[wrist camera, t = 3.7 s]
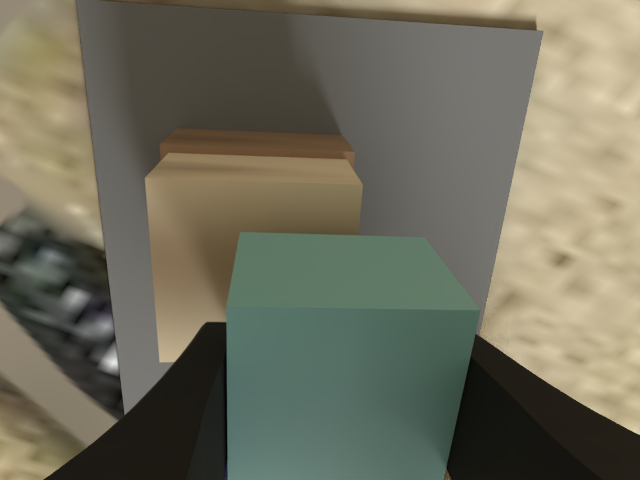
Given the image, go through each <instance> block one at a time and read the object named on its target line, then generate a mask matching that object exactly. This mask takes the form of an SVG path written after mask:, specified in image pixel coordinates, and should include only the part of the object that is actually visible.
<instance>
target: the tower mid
mask: <svg viewBox="0 0 640 480" xmlns="http://www.w3.org/2000/svg"><path fill="white" fill-rule="evenodd" d="M145 186H146V199H147V211H148V224H149V236H150V249H151V262H152V274H153V287H154V299H155V312H156V324H157V337H158V349H159V362H175V361H176V360H177V359H178V358H179V356H180V355H181V354H182V352H183V351H184V350H185V349H186V347H187V346H188V345H189V343H190V342H191V341H192V339H193V338H194V337H195V335H196V334H197V332H198V331H199V329H200V328H201V326H203V325H204V324H205V323H206V322H226V306H227V300H228V295H229V289H230V284H231V278H232V273H233V267H234V262H235V256H236V251H237V245H238V240H239V234H240V232H258V233H293V234H327V235H358V233H359V222H360V212H361V201H362V190H363V184H362V182H361V181H360V179H359V178H358V176H357V175H356V173H355V172H354V170H353V169H352V167H351V165H350V164H349V162H348V161H347V159H325V158H298V157H271V156H244V155H217V154H190V153H168V154H167V155H166V156H165V157H164V158H163V159H162V160H161V161H160V162H159V163H158V165H157V166H156V167H155V168H154V169H153V170H152V171H151V172H150V173H149V174H148V175H147V176H146V177H145Z"/></svg>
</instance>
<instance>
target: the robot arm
mask: <svg viewBox="0 0 640 480" xmlns="http://www.w3.org/2000/svg"><path fill="white" fill-rule="evenodd" d="M227 460H228V447H227V326H226V322H206V323H205V324H204V325H203V326H201V328H200V329H199V331H198V332H197V334H196V335H195V337H194V338H193V339H192V341H191V342H190V343H189V345H188V346H187V347H186V349H185V350H184V351H183V352H182V354H181V355H180V356H179V358H178V359H177V360H176V361H175V362H174V363H173V365H172V366H171V367H170V368H169V369H168V370H167V372H166V373H165V374H164V375H163V376H162V377H161V379H160V380H159V381H158V382H157V383H156V384H155V385H154V386H153V387H152V388H151V389H150V390H149V391H148V392H147V393H146V394H145V395H144V396H143V398H142V399H141V400H140V401H139V402H138V403H137V404H136V405H135V406H134V407H133V408H132V409H131V410H130V411H129V412H127V413H126V414H125V415H124V416H123V417H122V418H121V419H120V420H119V421H118V422H117V423H116V424H115V425H113V426H112V427H111V428H110V429H109V430H108V431H106V432H105V433H104V434H103V435H102V436H101V437H99V438H98V439H97V440H96V441H95V442H94V443H92V444H91V445H90V446H88V447H87V448H86V449H85V450H83V451H82V452H81V453H79V454H78V455H77V456H75V457H74V458H73V459H71V460H70V461H69V462H67V463H66V464H64V465H63V466H62V467H60V468H59V469H58V470H56V471H55V472H54V473H52V474H51V475H50V476H48V477H47V478H45V479H44V480H224V476H225V470H226V465H227ZM446 468H447V471H448V473H449V475H450V478H451V480H640V435H638V434H636V433H634V432H632V431H630V430H628V429H627V428H625V427H623V426H621V425H619V424H617V423H615V422H613V421H612V420H610V419H608V418H606V417H604V416H602V415H600V414H598V413H597V412H595V411H593V410H591V409H590V408H588V407H586V406H584V405H583V404H581V403H579V402H577V401H576V400H574V399H573V398H571V397H569V396H568V395H566V394H564V393H563V392H561V391H560V390H558V389H556V388H555V387H553V386H552V385H550V384H548V383H547V382H545V381H544V380H542V379H541V378H539V377H538V376H536V375H535V374H533V373H532V372H530V371H529V370H527V369H526V368H524V367H523V366H521V365H520V364H519V363H517V362H516V361H514V360H513V359H511V358H510V357H508V356H507V355H506V354H504V353H503V352H501V351H500V350H498V349H497V348H496V347H494V346H493V345H491V344H490V343H489V342H487V341H486V340H484V339H483V338H481V337H480V336H478V335H477V334H475V338H474V343H473V348H472V352H471V357H470V361H469V366H468V370H467V375H466V380H465V384H464V389H463V393H462V398H461V403H460V407H459V412H458V416H457V421H456V425H455V430H454V435H453V439H452V444H451V448H450V453H449V458H448V462H447V467H446Z"/></svg>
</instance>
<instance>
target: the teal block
mask: <svg viewBox="0 0 640 480" xmlns="http://www.w3.org/2000/svg"><path fill="white" fill-rule="evenodd" d="M480 311H481V310H480V309H479V307H478V306H477V305H476V303H475V302H474V301H473V300H472V298H471V297H470V296H469V294H468V293H467V292H466V290H465V289H464V288H463V287H462V285H461V284H460V283H459V281H458V280H457V279H456V277H455V276H454V275H453V274H452V272H451V271H450V270H449V268H448V267H447V266H446V264H445V263H444V262H443V261H442V259H441V258H440V257H439V255H438V254H437V253H436V251H435V250H434V249H433V248H432V246H431V245H430V244H429V242H428V241H427V240H426V238H425V237H395V236H361V235H327V234H293V233H258V232H240V234H239V240H238V245H237V251H236V256H235V262H234V267H233V273H232V278H231V284H230V289H229V295H228V300H227V306H226V326H227V447H228V480H444V476H445V471H446V467H447V462H448V458H449V453H450V448H451V444H452V439H453V435H454V430H455V425H456V421H457V416H458V412H459V407H460V403H461V398H462V393H463V389H464V384H465V380H466V375H467V370H468V366H469V361H470V357H471V352H472V348H473V343H474V338H475V334H476V329H477V325H478V320H479V315H480Z"/></svg>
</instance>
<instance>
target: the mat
mask: <svg viewBox="0 0 640 480" xmlns="http://www.w3.org/2000/svg"><path fill="white" fill-rule="evenodd" d="M76 5H77V14H78V22H79V31H80V39H81V48H82V56H83V65H84V73H85V82H86V90H87V99H88V107H89V116H90V124H91V133H92V141H93V150H94V158H95V167H96V175H97V184H98V192H99V201H100V209H101V218H102V226H103V235H104V243H105V252H106V260H107V269H108V277H109V286H110V294H111V303H112V311H113V320H114V328H115V337H116V345H117V354H118V362H119V371H120V379H121V388H122V396H123V405H124V413H125V414H126V413H127V412H129V411H130V410H131V409H132V408H133V407H134V406H135V405H136V404H137V403H138V402H139V401H140V400H141V399H142V398H143V396H144V395H145V394H146V393H147V392H148V391H149V390H150V389H151V388H152V387H153V386H154V385H155V384H156V383H157V382H158V381H159V380H160V379H161V377H162V376H163V375H164V374H165V373H166V372H167V370H168V369H169V368H170V367H171V366H172V365H173V363H174V362H159V349H158V337H157V324H156V312H155V299H154V287H153V274H152V262H151V249H150V236H149V224H148V211H147V199H146V186H145V177H146V176H147V175H148V174H149V173H150V172H151V171H152V170H153V169H154V168H155V167H156V166H157V165H158V163H159V162H160V161H161V157H160V143H162V142H163V141H164V140H165V139H166V138H167V137H168V136H169V135H171V134H172V133H173V132H174V131H175V130H176V129H177V128H184V129H208V130H231V131H255V132H279V133H302V134H326V135H342V136H343V137H344V138H345V140H346V141H347V142H348V143H349V145H350V146H351V147H352V149H353V150H354V151H355V157H354V168H353V170H354V172H355V173H356V175H357V176H358V178H359V179H360V181H361V182H362V184H363V190H362V201H361V212H360V222H359V233H358V235H361V236H395V237H425V238H426V240H427V241H428V242H429V244H430V245H431V246H432V248H433V249H434V250H435V251H436V253H437V254H438V255H439V257H440V258H441V259H442V261H443V262H444V263H445V264H446V266H447V267H448V268H449V270H450V271H451V272H452V274H453V275H454V276H455V277H456V279H457V280H458V281H459V283H460V284H461V285H462V287H463V288H464V289H465V290H466V292H467V293H468V294H469V296H470V297H471V298H472V300H473V301H474V302H475V303H476V305H477V306H478V307H479V309H480V310H481V311H480V315H479V320H478V325H477V329H476V334H477V335H478V336H479V334H480V329H481V324H482V320H483V315H484V310H485V305H486V301H487V296H488V291H489V286H490V282H491V277H492V272H493V268H494V263H495V258H496V253H497V249H498V244H499V239H500V234H501V230H502V225H503V220H504V215H505V211H506V206H507V201H508V197H509V192H510V187H511V182H512V178H513V173H514V168H515V163H516V159H517V154H518V149H519V144H520V140H521V135H522V130H523V125H524V121H525V116H526V111H527V107H528V102H529V97H530V92H531V88H532V83H533V78H534V73H535V69H536V64H537V59H538V54H539V50H540V45H541V40H542V36H543V31H536V30H522V29H507V28H493V27H478V26H464V25H449V24H435V23H420V22H406V21H391V20H377V19H362V18H348V17H333V16H319V15H304V14H290V13H275V12H261V11H246V10H232V9H217V8H203V7H188V6H174V5H159V4H145V3H130V2H116V1H101V0H76Z"/></svg>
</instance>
